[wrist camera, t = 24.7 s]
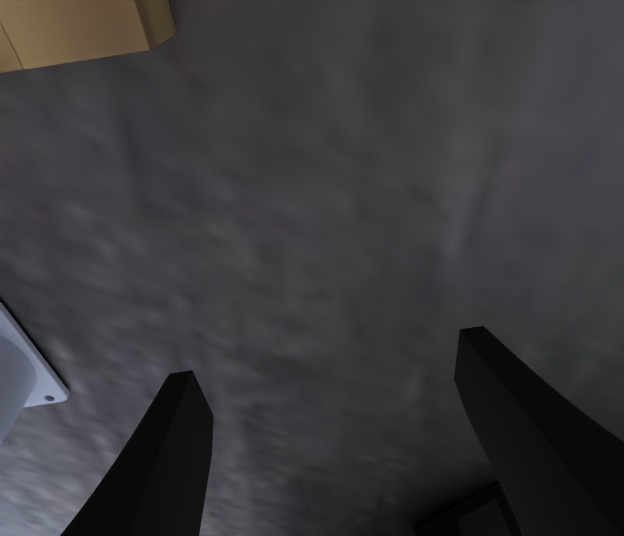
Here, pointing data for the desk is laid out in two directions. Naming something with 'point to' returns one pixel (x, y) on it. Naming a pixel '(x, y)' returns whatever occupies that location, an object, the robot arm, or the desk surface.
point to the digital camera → (475, 517)
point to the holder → (79, 30)
